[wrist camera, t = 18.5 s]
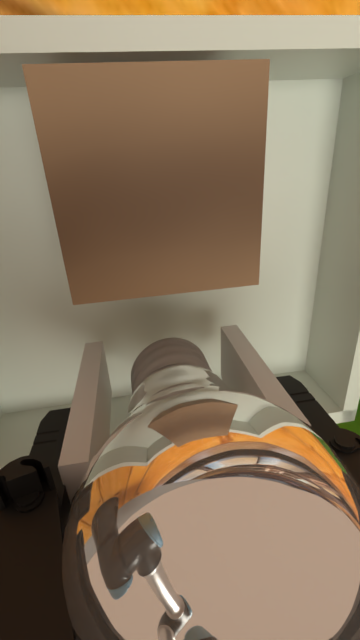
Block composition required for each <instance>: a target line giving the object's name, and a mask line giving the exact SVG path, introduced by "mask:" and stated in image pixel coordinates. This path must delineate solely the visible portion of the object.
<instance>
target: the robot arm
mask: <svg viewBox="0 0 360 640" xmlns="http://www.w3.org/2000/svg"><path fill="white" fill-rule="evenodd" d="M221 378H222V380H223V381H224V382H225V383H226V384H227V386H228V387H229V388H232V389H236V390H241V391H244V392H246V393H249V394H252V395H255V396H258V397H261V398H263V399H266V400H269V401H271V402H274V403H276V404H277V405H279V406H281V407H282V408H284V409H285V410H287V411H289V412H290V413H292V414H293V415H295V416H296V417H298V418H299V419H301V420H302V421H304V422H305V423H307V424H308V425H309V426H311V427H312V428H313V429H314V430H315V431H316V432H317V433H318V434H319V435H320V437H321V438H322V439H323V440H324V441H325V442H326V443H327V444H328V445H329V446H330V447H331V448H332V449H333V450H334V451H335V453H336V454H337V455H338V456H339V457H340V458H341V459H342V460H343V462H344V463H345V465H346V466H347V468H348V469H349V471H350V472H351V474H352V475H353V477H354V478H355V480H356V482H357V483H358V485H359V486H360V436H359V435H358V434H356V433H355V432H352V431H350V430H347V429H343V428H340V427H339V426H338V425H337V424H336V423H335V422H334V420H333V419H332V418H331V417H330V416H329V414H328V413H327V412H326V411H325V410H324V409H323V407H322V406H321V405H320V404H319V403H318V401H316V400H315V398H314V397H313V396H312V394H311V393H309V391H308V390H307V388H306V387H305V386H304V385H303V384H302V383H301V382H300V381H298V380H297V379H295V378H293V377H292V376H290V375H287V376H280V377H275V376H274V374H273V373H272V372H271V370H270V369H269V368H268V366H267V365H266V363H265V362H264V361H263V359H262V358H261V357H260V355H259V354H258V353H257V351H256V350H255V349H254V347H253V346H252V345H251V343H250V342H249V341H248V339H247V338H246V337H245V335H244V334H243V333H242V331H241V330H240V329H239V327H238V326H237V325H231V326H223V327H221ZM111 399H112V389H111V384H110V378H109V372H108V367H107V361H106V355H105V350H104V344H103V341H99V342H91V343H85V347H84V351H83V356H82V360H81V365H80V369H79V374H78V378H77V382H76V387H75V391H74V396H73V400H72V405H71V408H64V409H57V410H50V411H49V412H48V413H47V414H46V416H45V417H44V418H43V419H42V420H41V421H40V424H39V427H38V430H37V433H36V436H35V439H34V442H33V446H32V448H31V451H30V454H29V455H28V456H23V457H19V458H17V459H15V460H13V461H11V462H9V463H8V464H7V465H5V466H4V467H3V468H1V469H0V640H75V638H74V632H73V627H72V624H71V621H70V619H69V615H68V610H67V604H66V598H65V592H64V586H63V581H62V550H63V536H64V532H65V527H66V523H67V519H68V515H69V510H70V506H71V502H72V498H73V496H74V494H75V492H76V490H77V488H78V486H79V484H80V481H81V479H82V477H83V475H84V473H85V471H86V469H87V467H88V466H89V464H90V462H91V460H92V458H93V456H94V455H95V454H96V452H97V451H98V450H99V449H100V447H101V446H102V445H103V443H104V442H105V441H106V440H107V439H108V437H109V436H110V418H111Z"/></svg>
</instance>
